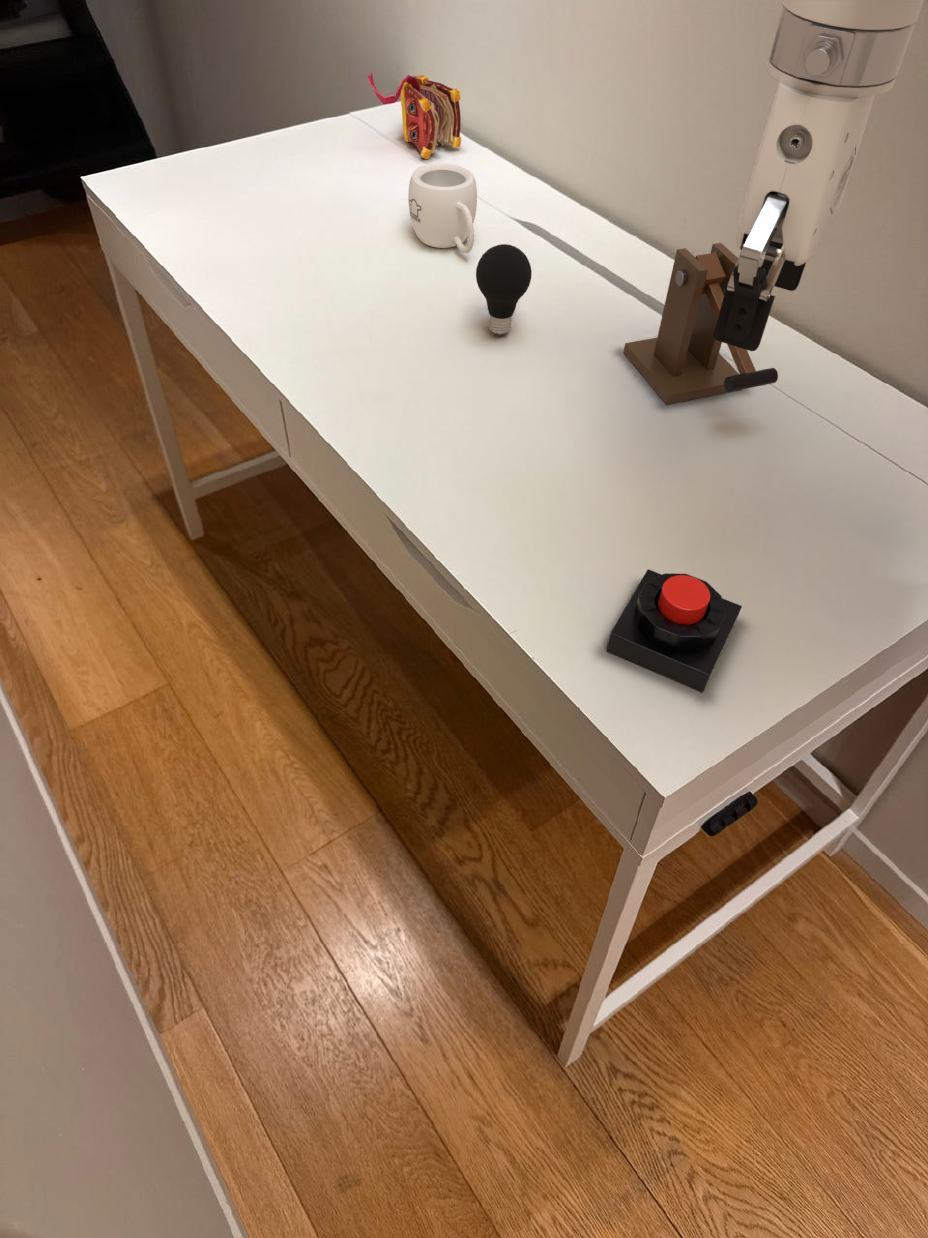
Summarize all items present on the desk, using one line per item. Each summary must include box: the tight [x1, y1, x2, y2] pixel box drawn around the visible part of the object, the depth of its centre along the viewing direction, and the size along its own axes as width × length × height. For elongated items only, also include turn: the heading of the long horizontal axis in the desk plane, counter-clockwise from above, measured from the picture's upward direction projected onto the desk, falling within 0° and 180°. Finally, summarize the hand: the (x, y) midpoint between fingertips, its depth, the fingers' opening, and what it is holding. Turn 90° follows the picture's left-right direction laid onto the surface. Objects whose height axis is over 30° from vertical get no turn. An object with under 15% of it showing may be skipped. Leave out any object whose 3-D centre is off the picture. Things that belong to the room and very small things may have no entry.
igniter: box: [605, 568, 743, 693], centre depth 69 cm, size 8×8×4 cm
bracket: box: [623, 242, 740, 405], centre depth 90 cm, size 10×9×13 cm
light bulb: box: [475, 243, 533, 337], centre depth 95 cm, size 6×6×10 cm
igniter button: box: [658, 575, 710, 625], centre depth 67 cm, size 4×4×2 cm
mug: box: [407, 162, 478, 254], centre depth 109 cm, size 12×8×8 cm
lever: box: [694, 252, 779, 393], centre depth 85 cm, size 14×5×2 cm, turn 20°
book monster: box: [367, 72, 462, 160], centre depth 127 cm, size 11×9×12 cm
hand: (756, 312), depth 65 cm, fingers open, 9 cm apart
